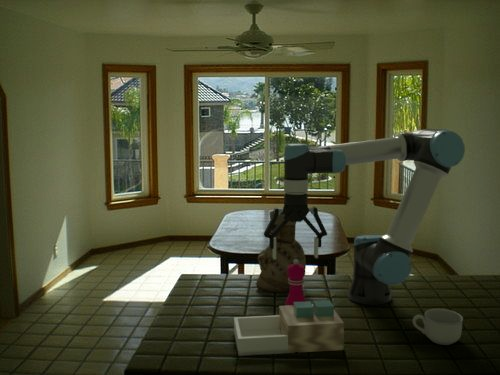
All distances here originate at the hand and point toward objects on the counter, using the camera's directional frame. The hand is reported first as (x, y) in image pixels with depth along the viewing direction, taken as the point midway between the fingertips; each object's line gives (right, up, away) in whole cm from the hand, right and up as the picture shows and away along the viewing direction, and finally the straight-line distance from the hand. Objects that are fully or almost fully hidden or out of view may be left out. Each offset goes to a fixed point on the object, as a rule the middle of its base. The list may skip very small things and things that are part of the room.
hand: (295, 257), depth 177 cm
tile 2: (+7, -15, -14) cm, 22 cm away
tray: (-12, -23, -15) cm, 30 cm away
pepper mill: (0, -21, +3) cm, 21 cm away
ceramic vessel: (-3, -16, +34) cm, 37 cm away
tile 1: (+1, -15, -15) cm, 21 cm away
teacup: (+41, -23, -15) cm, 49 cm away
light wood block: (+3, -23, -14) cm, 27 cm away
